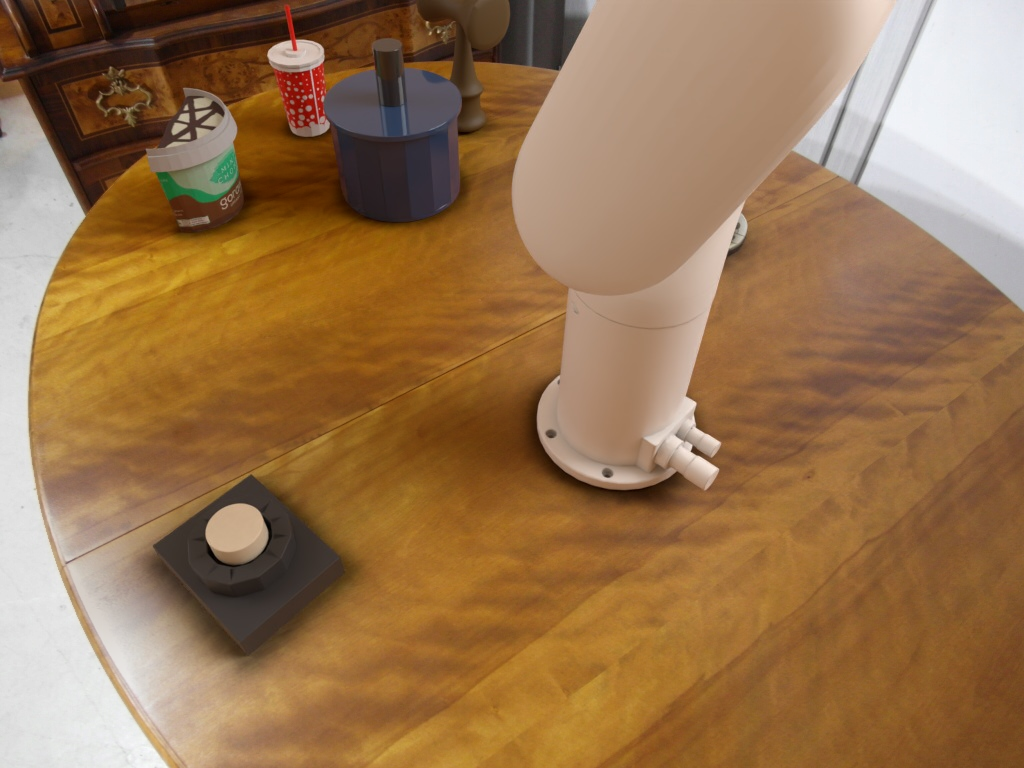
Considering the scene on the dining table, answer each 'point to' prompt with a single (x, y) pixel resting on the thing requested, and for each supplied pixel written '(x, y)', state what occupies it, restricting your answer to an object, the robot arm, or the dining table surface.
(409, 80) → the jar lid
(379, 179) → the jar
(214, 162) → the food container
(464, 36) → the kendama
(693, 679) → the dining table surface
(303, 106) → the beverage cup
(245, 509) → the release button
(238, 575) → the button block
